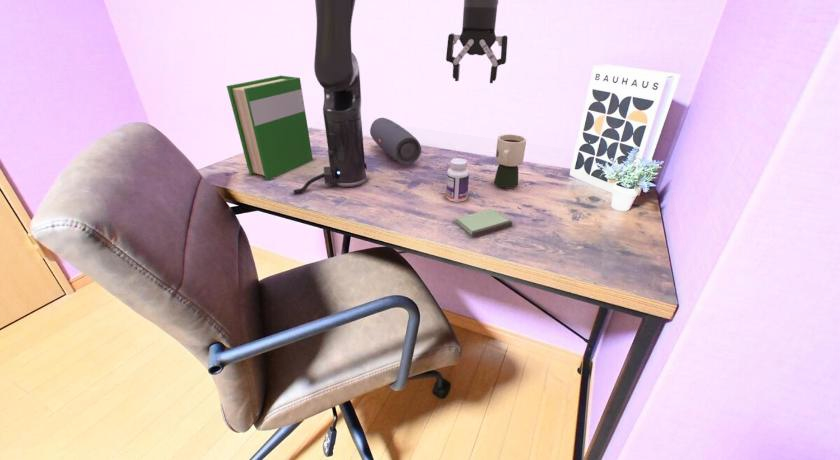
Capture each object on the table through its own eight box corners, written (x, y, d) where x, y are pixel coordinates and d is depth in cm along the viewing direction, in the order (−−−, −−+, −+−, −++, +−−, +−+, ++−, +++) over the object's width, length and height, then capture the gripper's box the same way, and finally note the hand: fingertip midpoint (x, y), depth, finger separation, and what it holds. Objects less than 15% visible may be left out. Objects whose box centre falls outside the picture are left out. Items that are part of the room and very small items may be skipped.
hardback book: (267, 180, 102) (246, 89, 90) (249, 174, 105) (226, 85, 93) (312, 159, 115) (299, 77, 103) (295, 155, 118) (280, 75, 106)
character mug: (499, 175, 105) (504, 130, 98) (523, 180, 102) (531, 134, 95) (486, 190, 97) (491, 142, 90) (513, 196, 94) (520, 147, 87)
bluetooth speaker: (369, 147, 125) (367, 117, 120) (394, 143, 128) (393, 114, 123) (393, 171, 108) (392, 137, 102) (422, 166, 111) (422, 133, 106)
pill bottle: (467, 193, 96) (470, 157, 90) (467, 202, 91) (470, 165, 86) (446, 192, 96) (447, 156, 91) (445, 201, 91) (447, 164, 86)
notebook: (473, 237, 78) (474, 232, 77) (456, 222, 83) (456, 217, 82) (511, 226, 82) (512, 221, 81) (492, 212, 87) (493, 208, 86)
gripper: (446, 5, 81) (443, 82, 90) (512, 6, 79) (502, 86, 87) (451, 4, 88) (448, 77, 96) (513, 5, 85) (503, 80, 94)
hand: (474, 81), depth 92 cm, fingers open, 8 cm apart
